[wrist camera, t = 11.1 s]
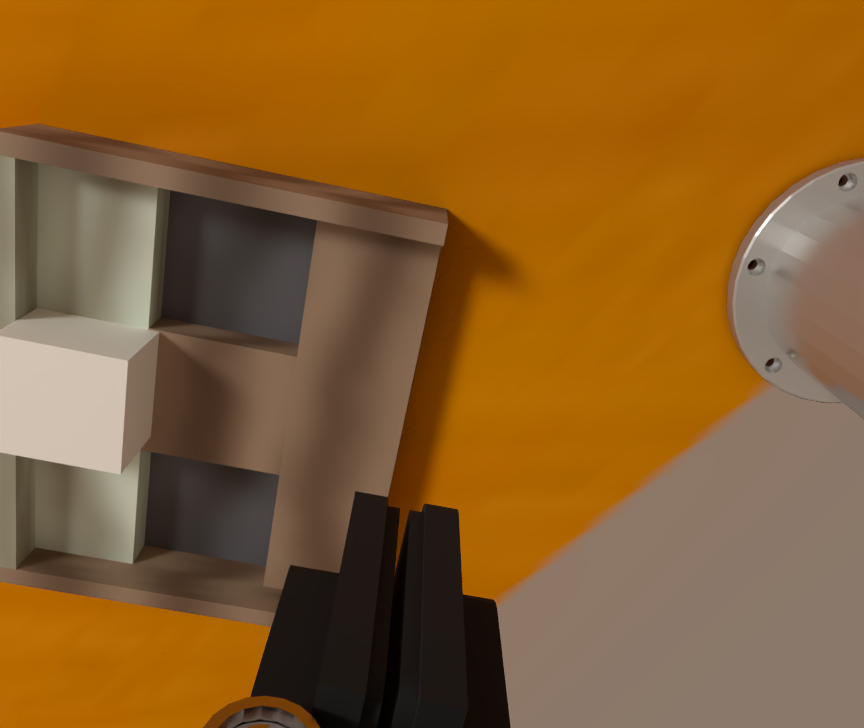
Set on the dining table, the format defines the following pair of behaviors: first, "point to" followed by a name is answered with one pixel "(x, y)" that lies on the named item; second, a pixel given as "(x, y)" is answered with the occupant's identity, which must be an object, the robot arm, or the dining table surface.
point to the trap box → (212, 366)
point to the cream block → (76, 390)
